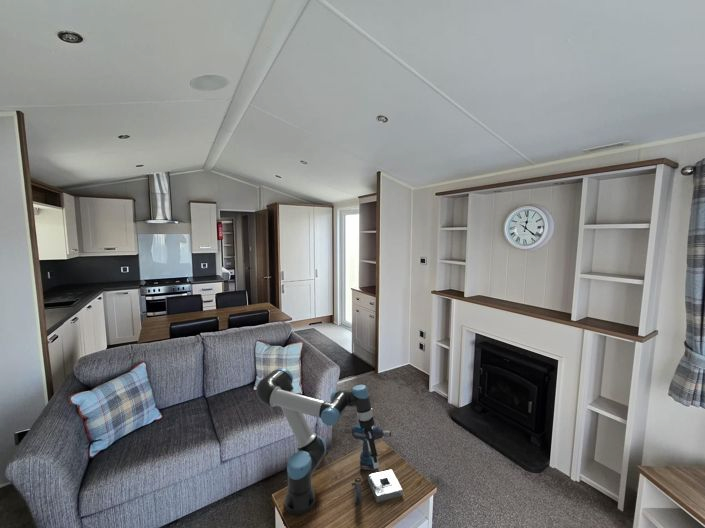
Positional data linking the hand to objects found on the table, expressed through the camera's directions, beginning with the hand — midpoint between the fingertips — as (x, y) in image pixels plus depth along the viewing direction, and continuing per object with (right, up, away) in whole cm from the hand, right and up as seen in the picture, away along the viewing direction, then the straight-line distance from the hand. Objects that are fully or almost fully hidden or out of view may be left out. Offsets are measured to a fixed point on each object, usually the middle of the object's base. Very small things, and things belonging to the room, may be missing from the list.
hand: (374, 458), depth 155 cm
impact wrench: (0, -21, +26) cm, 33 cm away
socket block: (+6, -22, +11) cm, 26 cm away
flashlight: (-8, -23, +3) cm, 25 cm away
